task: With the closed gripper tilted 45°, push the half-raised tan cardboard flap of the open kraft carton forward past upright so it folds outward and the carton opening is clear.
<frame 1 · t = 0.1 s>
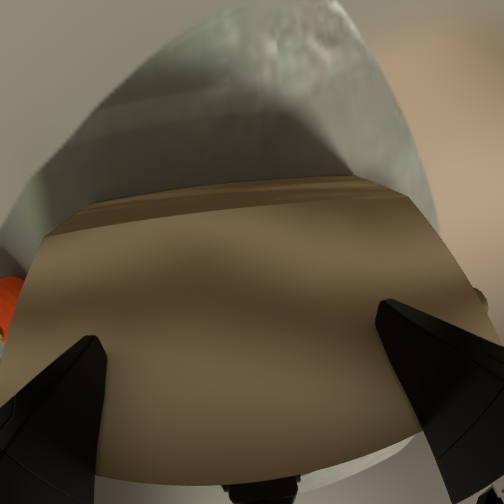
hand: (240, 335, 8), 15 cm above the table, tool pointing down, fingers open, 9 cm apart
clementine: (26, 294, 22), on the table
kraft carton: (229, 255, 23), on the table
carton flap: (237, 316, 9), point 13 cm above the table, hinge at 67.8°
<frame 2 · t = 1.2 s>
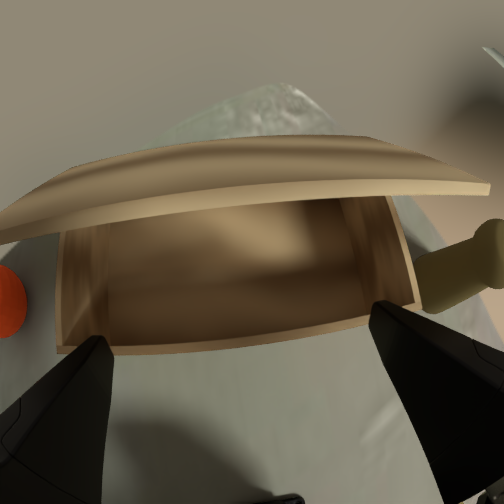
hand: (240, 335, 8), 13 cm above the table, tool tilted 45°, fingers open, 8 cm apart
clementine: (17, 310, 20), on the table
kraft carton: (230, 270, 22), on the table
cork: (431, 284, 23), on the table
carton flap: (219, 158, 11), point 12 cm above the table, hinge at 41.3°
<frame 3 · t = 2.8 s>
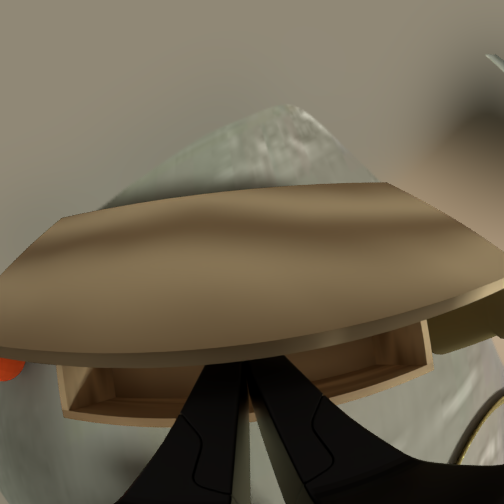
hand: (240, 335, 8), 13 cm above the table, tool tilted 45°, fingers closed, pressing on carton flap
clementine: (17, 350, 18), on the table
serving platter: (496, 482, 13), on the table
kraft carton: (237, 321, 21), on the table
cork: (440, 324, 21), on the table
carton flap: (228, 237, 10), point 12 cm above the table, hinge at 42.0°, touching gripper
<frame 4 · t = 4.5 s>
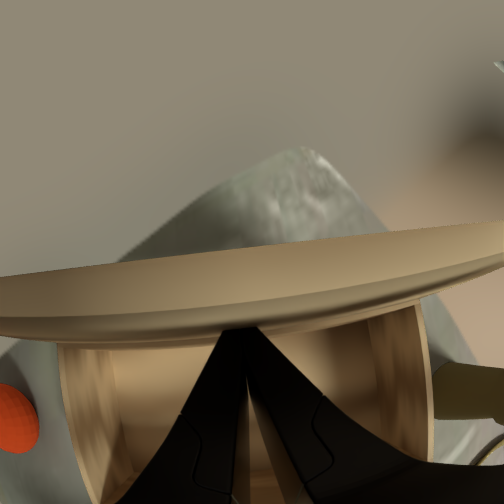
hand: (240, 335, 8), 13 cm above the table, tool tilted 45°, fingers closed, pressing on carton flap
clementine: (27, 416, 16), on the table
kraft carton: (249, 410, 18), on the table
cork: (446, 391, 19), on the table
carton flap: (238, 320, 8), point 14 cm above the table, hinge at 88.6°, touching gripper
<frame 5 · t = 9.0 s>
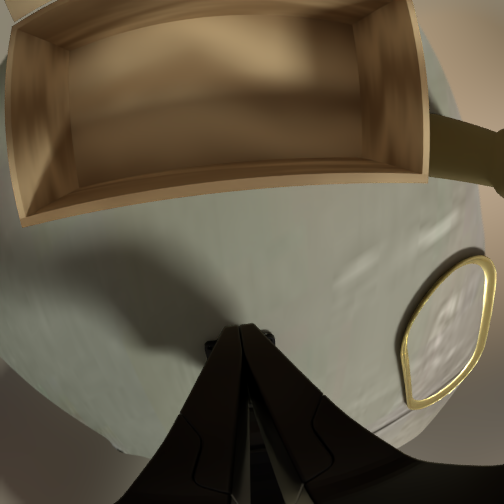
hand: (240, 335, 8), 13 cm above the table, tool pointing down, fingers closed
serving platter: (447, 345, 33), on the table
kraft carton: (213, 86, 16), on the table
cork: (433, 145, 19), on the table
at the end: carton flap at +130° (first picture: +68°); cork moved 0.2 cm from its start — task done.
